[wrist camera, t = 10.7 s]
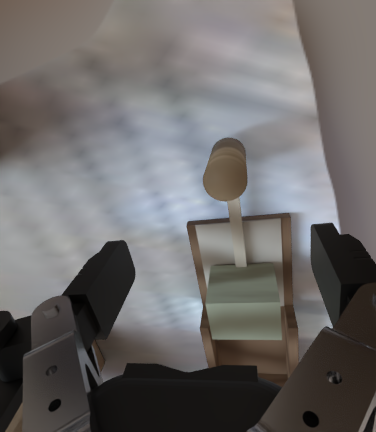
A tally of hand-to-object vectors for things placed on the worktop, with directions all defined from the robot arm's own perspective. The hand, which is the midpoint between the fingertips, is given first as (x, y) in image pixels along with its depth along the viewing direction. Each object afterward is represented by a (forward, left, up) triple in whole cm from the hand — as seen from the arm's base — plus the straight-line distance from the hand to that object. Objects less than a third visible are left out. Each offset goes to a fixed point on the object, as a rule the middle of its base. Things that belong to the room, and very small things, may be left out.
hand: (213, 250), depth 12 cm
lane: (+21, 0, -18) cm, 27 cm away
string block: (+8, 0, -16) cm, 18 cm away
